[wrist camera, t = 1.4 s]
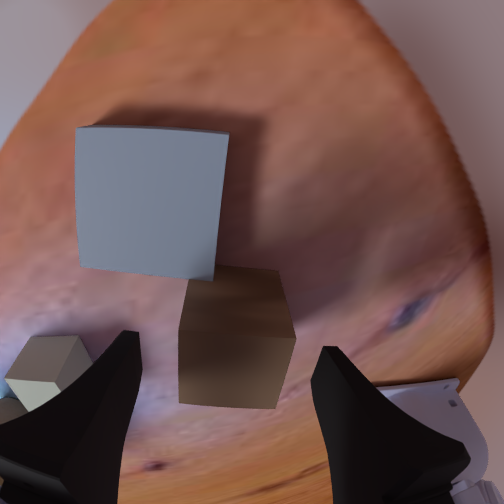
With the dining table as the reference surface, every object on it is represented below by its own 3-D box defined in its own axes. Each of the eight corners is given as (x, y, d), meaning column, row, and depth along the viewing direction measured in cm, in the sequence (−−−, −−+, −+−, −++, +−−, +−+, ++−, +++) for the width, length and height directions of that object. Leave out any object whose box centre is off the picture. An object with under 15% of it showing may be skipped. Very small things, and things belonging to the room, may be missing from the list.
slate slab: (229, 131, 13) (229, 134, 11) (214, 260, 15) (213, 281, 14) (95, 124, 12) (76, 127, 10) (95, 247, 15) (80, 266, 13)
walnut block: (277, 270, 15) (296, 338, 11) (264, 336, 17) (275, 409, 12) (192, 261, 15) (178, 329, 10) (189, 329, 17) (179, 403, 12)
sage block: (79, 334, 16) (54, 382, 13) (104, 381, 18) (88, 429, 15) (31, 336, 16) (4, 378, 13) (57, 380, 18) (37, 423, 15)
